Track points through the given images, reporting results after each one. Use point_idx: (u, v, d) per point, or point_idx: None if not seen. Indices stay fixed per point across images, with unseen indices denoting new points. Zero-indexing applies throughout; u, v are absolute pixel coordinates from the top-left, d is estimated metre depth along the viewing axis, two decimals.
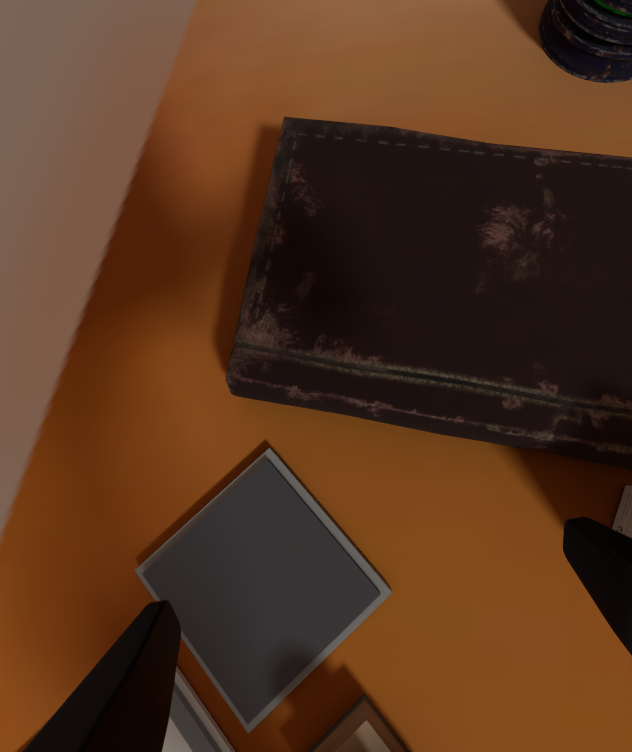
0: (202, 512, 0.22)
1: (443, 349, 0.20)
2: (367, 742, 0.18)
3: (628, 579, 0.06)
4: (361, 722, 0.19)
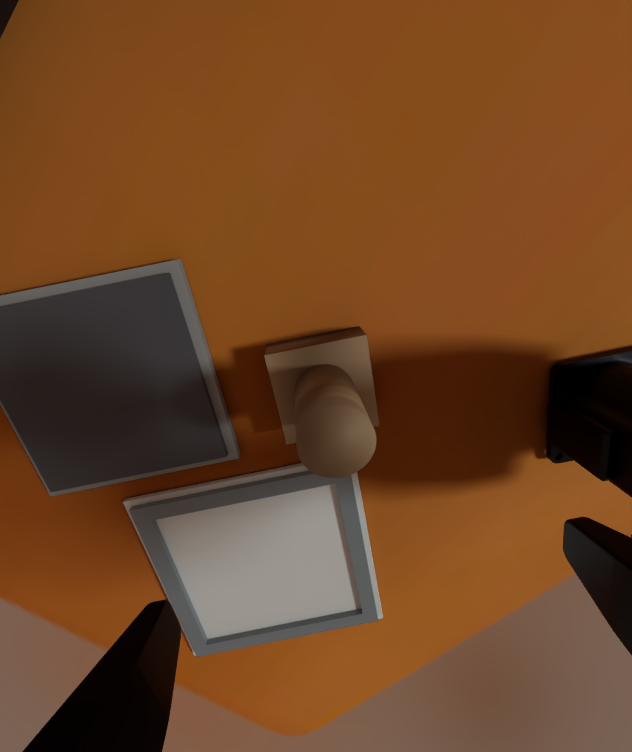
0: (8, 413, 0.19)
1: None
2: (282, 365, 0.17)
3: (628, 579, 0.06)
4: (266, 361, 0.17)
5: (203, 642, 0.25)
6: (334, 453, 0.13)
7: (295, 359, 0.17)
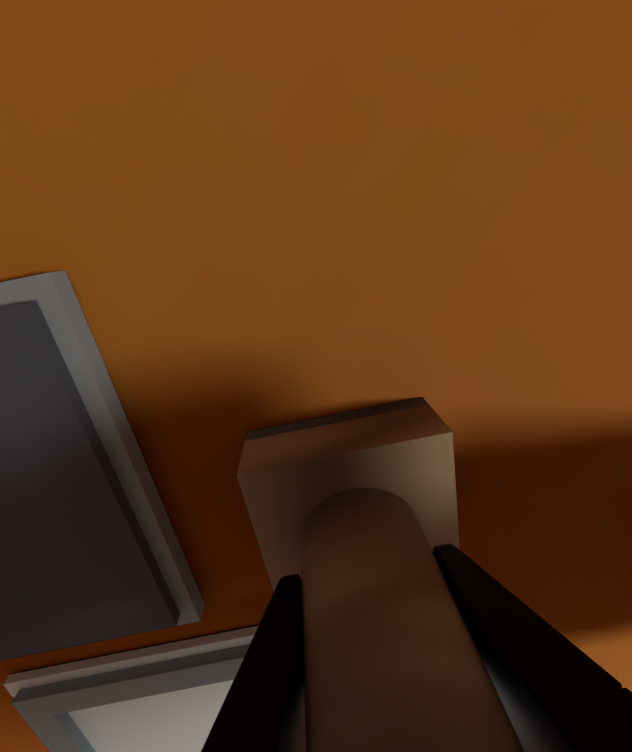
0: None
1: None
2: (274, 491, 0.08)
3: (464, 611, 0.06)
4: None
5: None
6: None
7: (301, 480, 0.08)
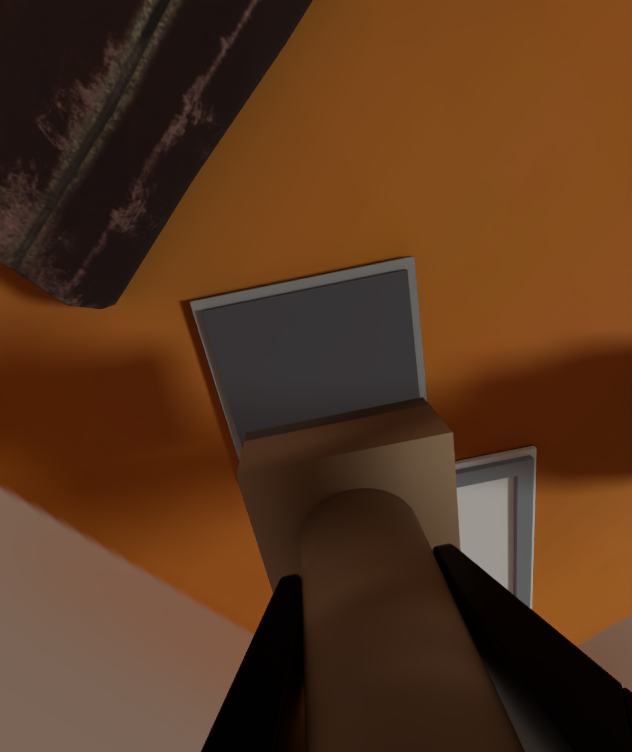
0: (225, 406, 0.19)
1: None
2: (274, 491, 0.08)
3: (464, 611, 0.06)
4: None
5: None
6: None
7: (301, 481, 0.08)
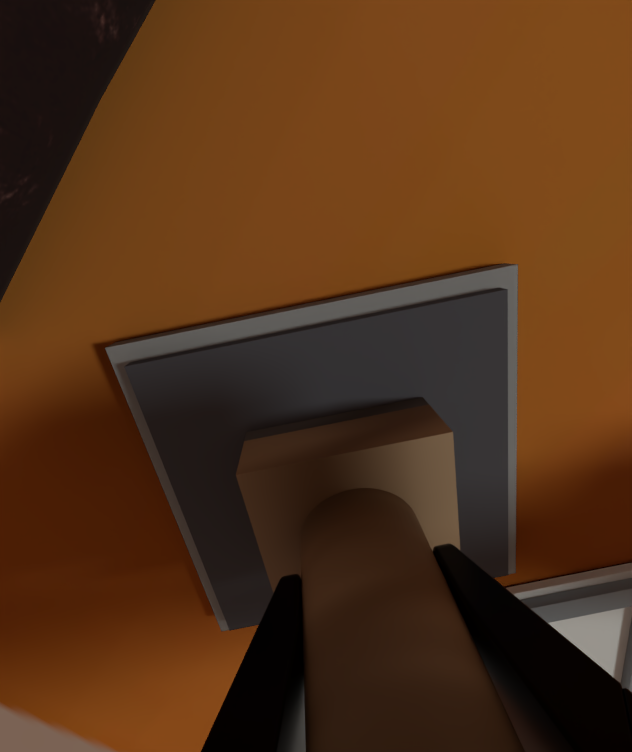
0: (179, 516, 0.11)
1: None
2: (274, 491, 0.08)
3: (464, 611, 0.06)
4: None
5: None
6: None
7: (301, 480, 0.08)
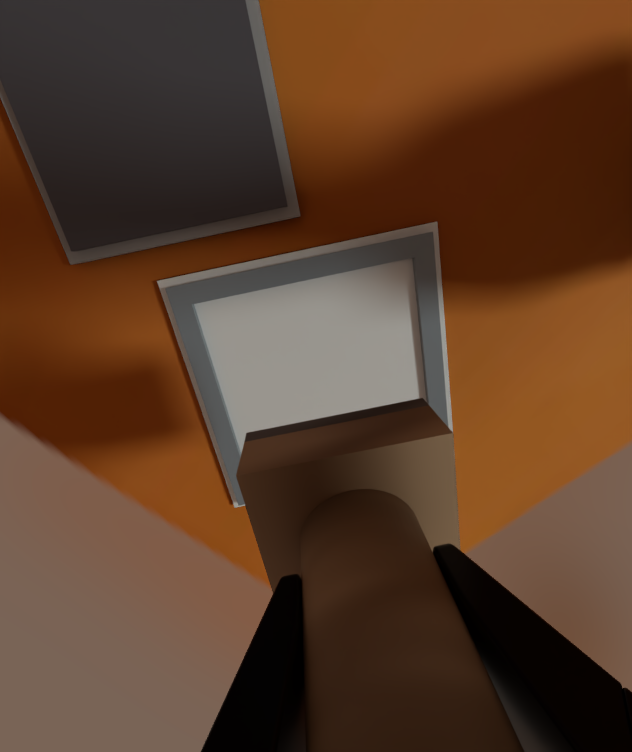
0: (19, 132, 0.15)
1: None
2: (274, 492, 0.08)
3: (464, 611, 0.06)
4: None
5: None
6: None
7: (301, 481, 0.08)
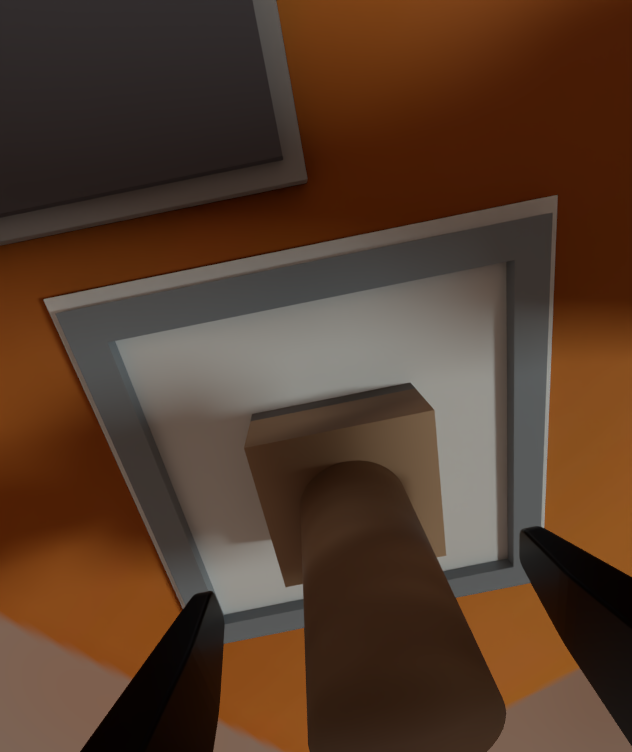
0: None
1: None
2: (277, 463, 0.09)
3: (572, 590, 0.06)
4: None
5: None
6: (402, 749, 0.06)
7: (301, 453, 0.09)
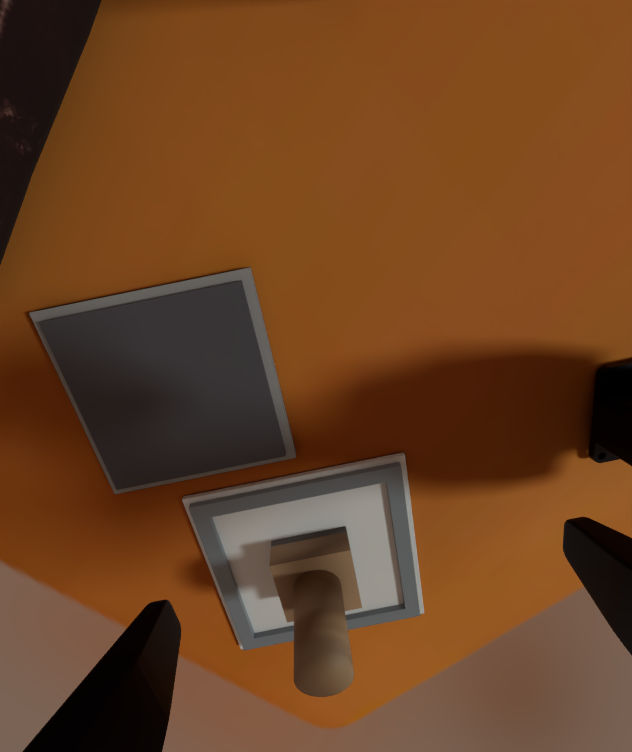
0: (80, 414, 0.19)
1: None
2: (283, 571, 0.22)
3: (628, 579, 0.06)
4: None
5: (251, 636, 0.26)
6: (323, 682, 0.18)
7: (293, 567, 0.22)
